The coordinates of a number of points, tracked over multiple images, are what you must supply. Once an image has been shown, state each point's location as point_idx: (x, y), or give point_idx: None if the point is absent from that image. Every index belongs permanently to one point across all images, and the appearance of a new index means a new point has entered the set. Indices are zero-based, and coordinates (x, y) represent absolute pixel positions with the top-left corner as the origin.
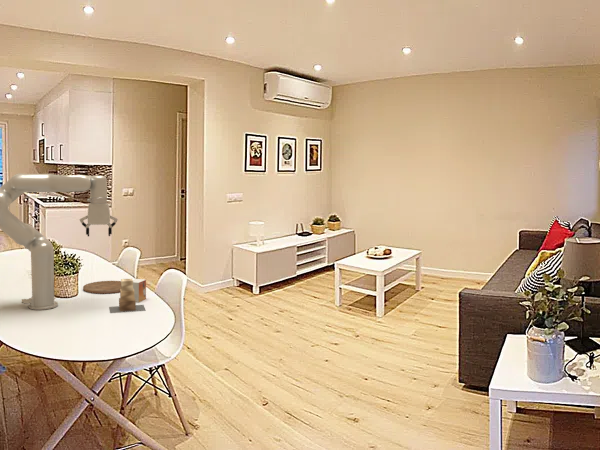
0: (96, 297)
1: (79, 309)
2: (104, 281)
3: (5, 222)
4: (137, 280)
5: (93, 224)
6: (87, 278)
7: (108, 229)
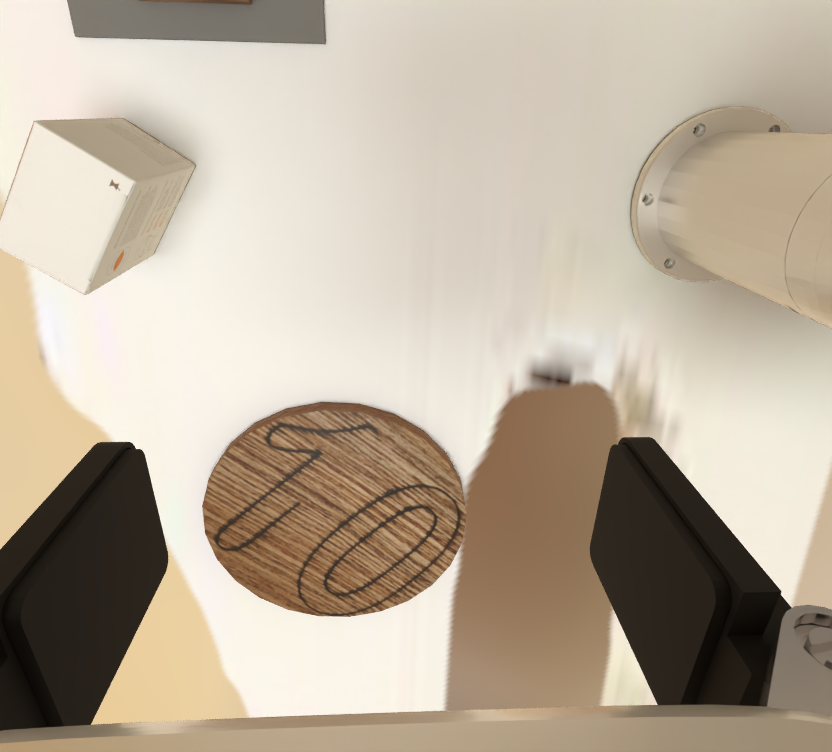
0: (400, 340)
1: (518, 55)
2: (353, 606)
3: None
4: (61, 216)
5: (670, 705)
6: (431, 694)
7: (90, 665)
